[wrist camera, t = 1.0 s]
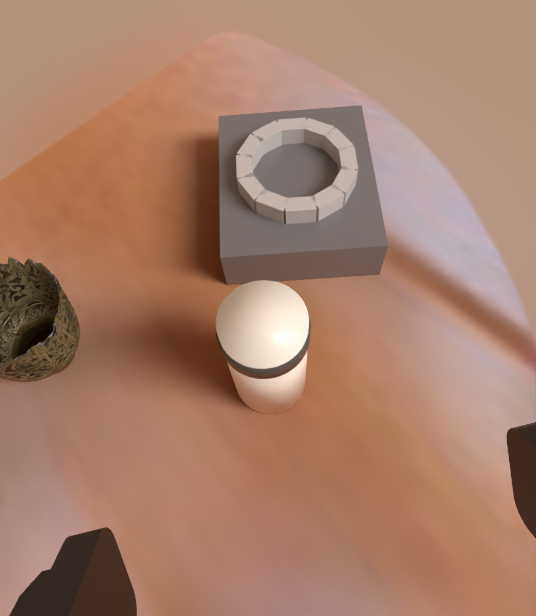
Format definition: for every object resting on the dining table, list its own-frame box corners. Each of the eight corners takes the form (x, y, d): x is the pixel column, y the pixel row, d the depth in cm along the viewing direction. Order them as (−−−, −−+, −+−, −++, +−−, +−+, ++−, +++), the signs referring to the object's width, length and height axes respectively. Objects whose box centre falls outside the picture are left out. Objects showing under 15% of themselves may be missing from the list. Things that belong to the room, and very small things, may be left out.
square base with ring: (226, 284, 39) (217, 246, 34) (224, 150, 46) (216, 101, 41) (379, 274, 39) (391, 233, 34) (356, 140, 45) (363, 90, 40)
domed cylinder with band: (234, 417, 35) (214, 370, 26) (233, 348, 37) (213, 281, 28) (309, 413, 34) (315, 363, 26) (303, 343, 37) (306, 275, 28)
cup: (49, 295, 40) (-6, 238, 32) (123, 335, 38) (83, 283, 31) (-16, 375, 37) (-91, 332, 30) (61, 421, 35) (1, 387, 28)
